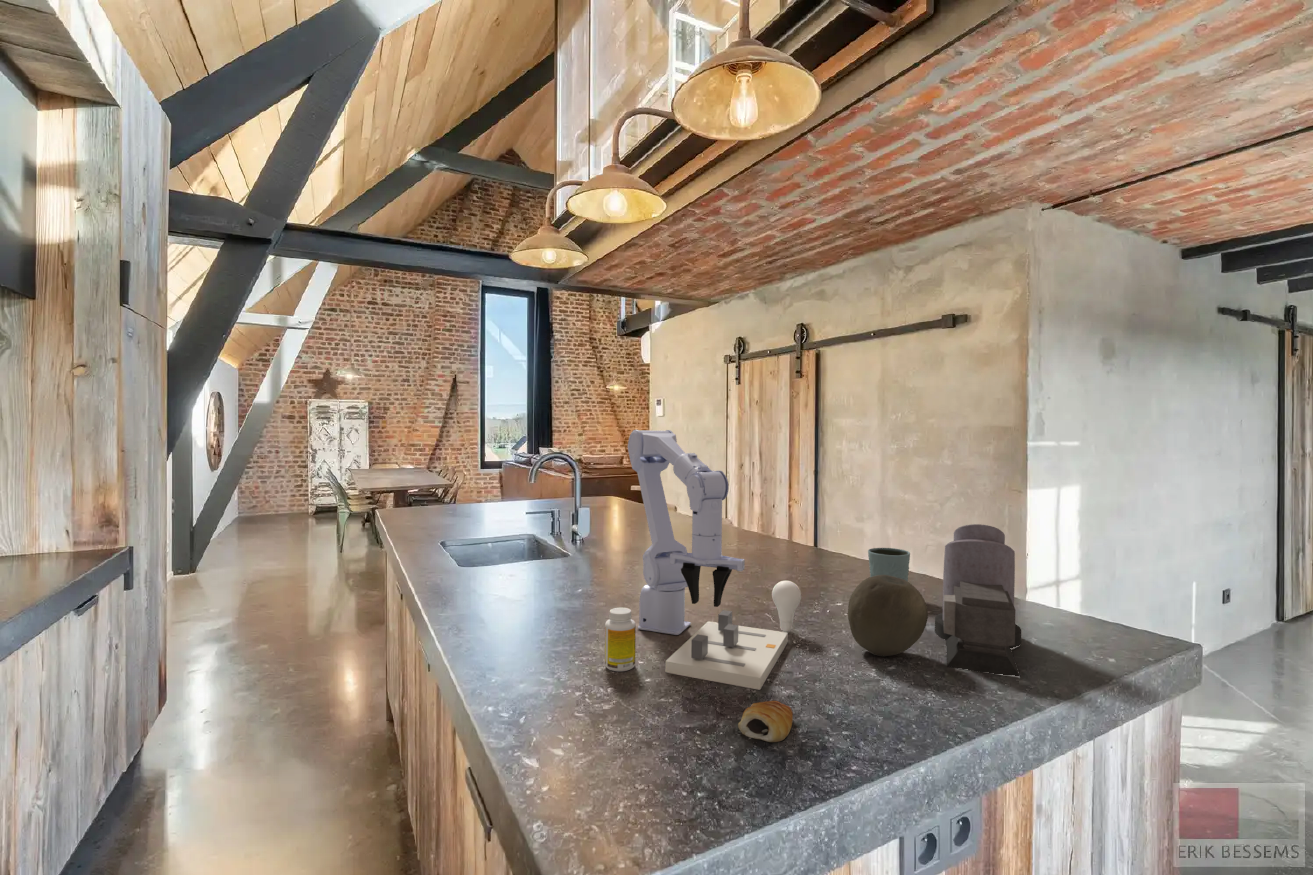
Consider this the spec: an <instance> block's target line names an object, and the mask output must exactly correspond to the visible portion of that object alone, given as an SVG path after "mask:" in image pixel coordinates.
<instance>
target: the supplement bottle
mask: <svg viewBox="0 0 1313 875" xmlns="http://www.w3.org/2000/svg"><path fill="white" fill-rule="evenodd" d="M608 617H609V618H608V619H607V620H606V621H605V624H604V666H605V667H606V668H607V669H608V670H610V671H613V672H618V673H619V672H627V671H629V670H632V669H634V667H635V665H636V629H637V628H636V627H637V626H636V621H635V620H634V619H632V617H633V616H632V609H630V608H628V607H614V608H611V609H610V610H609V615H608Z"/></svg>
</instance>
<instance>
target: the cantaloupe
mask: <svg viewBox="0 0 1313 875" xmlns="http://www.w3.org/2000/svg"><path fill="white" fill-rule="evenodd" d="M849 597H850V598H849V600H848V607H847V620H848V623H849V624H848V625H849V629H850V633H851V636H852V637H853V639H854V640H855V641H856V643H857V644H858V645H859V646H860V647H862V648H863V649H865V650H866V651H867V652H869V653H870V654H872V655H875V656H878V657H890V656H891V657H892V656H895V655H899V654H901V653H904V652H905V651H907V650H908V649H910V648H911V647H912V646H913V645H914V644H916V643H917V642H918V640H919V639H920V638H921V637H922V635H923V633H924V631H925V628H926V626H927V623H928V618H929V612H928V606H927V604H926V601H925V599H924V597H923V595H922V594H921V592H920V591H919V590H918V588H917V587H915V586H914V585H913V584H912V583H911V582H909V581H908V582H907V581H906V580H904V579H901V578H897V577H894V576H889V575H876V576H873V577H870V576H869V577H866V579H864V580H862V581H861V582H859V584H857V586H856V587H855V589H853V592H851V595H850V596H849Z"/></svg>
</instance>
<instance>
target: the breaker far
mask: <svg viewBox="0 0 1313 875" xmlns="http://www.w3.org/2000/svg"><path fill="white" fill-rule="evenodd" d="M717 617H718V622H717V623H718V630H721V631H724V628H725V627H726V626H727V625H728V624H732V625H733V611H732V610H725V609H722V610H721V611H720V612H719V613H718V616H717Z"/></svg>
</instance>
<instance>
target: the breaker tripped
mask: <svg viewBox="0 0 1313 875" xmlns="http://www.w3.org/2000/svg"><path fill="white" fill-rule="evenodd" d="M738 626H739V624H733V623H732V624H728V625H727V626H726V627H725V628H724V631H723V646H727V647H734V646H735V645H736V644H737V643H738Z"/></svg>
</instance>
